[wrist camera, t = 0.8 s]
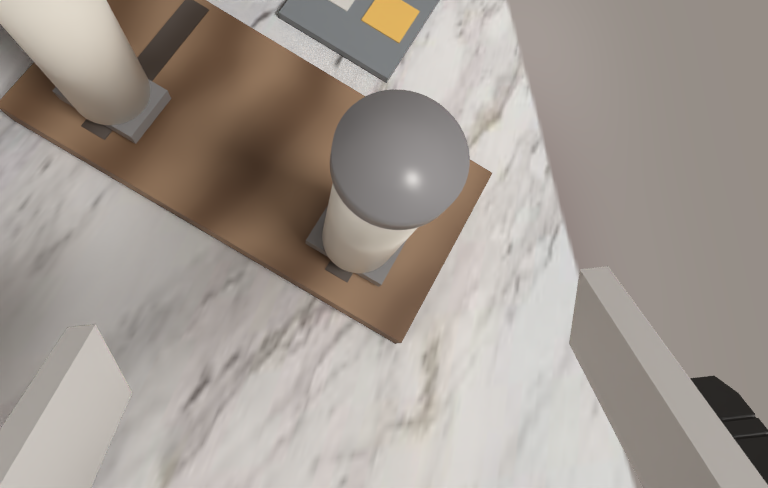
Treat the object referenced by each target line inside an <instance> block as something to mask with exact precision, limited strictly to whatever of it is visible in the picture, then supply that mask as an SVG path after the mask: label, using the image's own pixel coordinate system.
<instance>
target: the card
mask: <svg viewBox="0 0 768 488" xmlns="http://www.w3.org/2000/svg"><path fill="white" fill-rule="evenodd" d="M438 2H439V0H287V2H286V3H285V4H284V6H283V7H282V8H281V10H280V11H279V18H280V19H282V20H284V21H285V22H287V23H289V24H290V25H292V26H294V27H295V28H297V29H299V30H300V31H302V32H304V33H305V34H307V35H308V36H310V37H312V38H313V39H315V40H317V41H318V42H320V43H322V44H323V45H325V46H327V47H328V48H330V49H332V50H333V51H335V52H337V53H338V54H340V55H342V56H343V57H345V58H347V59H348V60H350V61H351V62H353V63H355V64H356V65H358V66H360V67H361V68H363V69H365V70H366V71H368V72H370V73H371V74H373V75H375V76H376V77H378V78H380V79H381V80H383V81H385V82H386V83H387V81H388V80H389V78H390V77H391V75H392V74H393V72H394V71H395V69H396V67H397V66H398V64H399V63H400V61H401V60H402V58H403V57H404V55H405V53H406V52H407V50H408V49H409V47H410V46H411V44H412V43H413V41H414V39H415V38H416V36H417V35H418V33H419V32H420V30H421V28H422V27H423V25H424V24H425V22H426V21H427V19H428V18H429V16H430V14H431V13H432V11H433V10H434V8H435V7H436V5H437V4H438Z"/></svg>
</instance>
